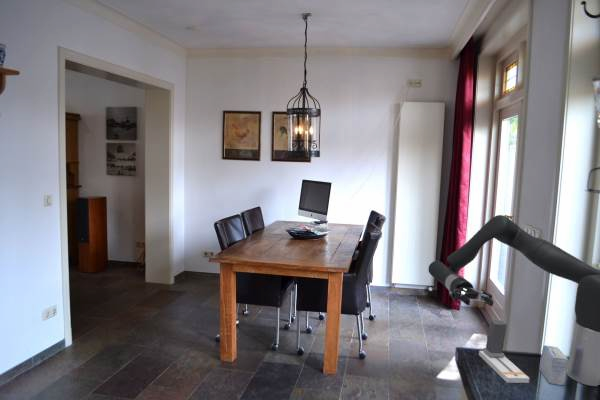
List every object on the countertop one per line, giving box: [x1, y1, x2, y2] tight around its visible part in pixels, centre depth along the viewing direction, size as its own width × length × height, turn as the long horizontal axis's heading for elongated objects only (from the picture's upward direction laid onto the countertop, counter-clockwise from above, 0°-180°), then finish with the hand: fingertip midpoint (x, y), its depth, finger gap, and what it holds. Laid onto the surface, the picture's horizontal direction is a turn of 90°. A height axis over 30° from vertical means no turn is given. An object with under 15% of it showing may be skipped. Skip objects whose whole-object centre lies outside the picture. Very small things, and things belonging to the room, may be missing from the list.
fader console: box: [478, 350, 530, 384], centre depth 132 cm, size 7×16×2 cm, turn 6°
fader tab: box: [482, 319, 508, 357], centre depth 136 cm, size 5×4×11 cm
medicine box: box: [539, 345, 569, 386], centre depth 128 cm, size 8×4×9 cm, turn 168°
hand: (480, 303), depth 146 cm, fingers open, 8 cm apart
